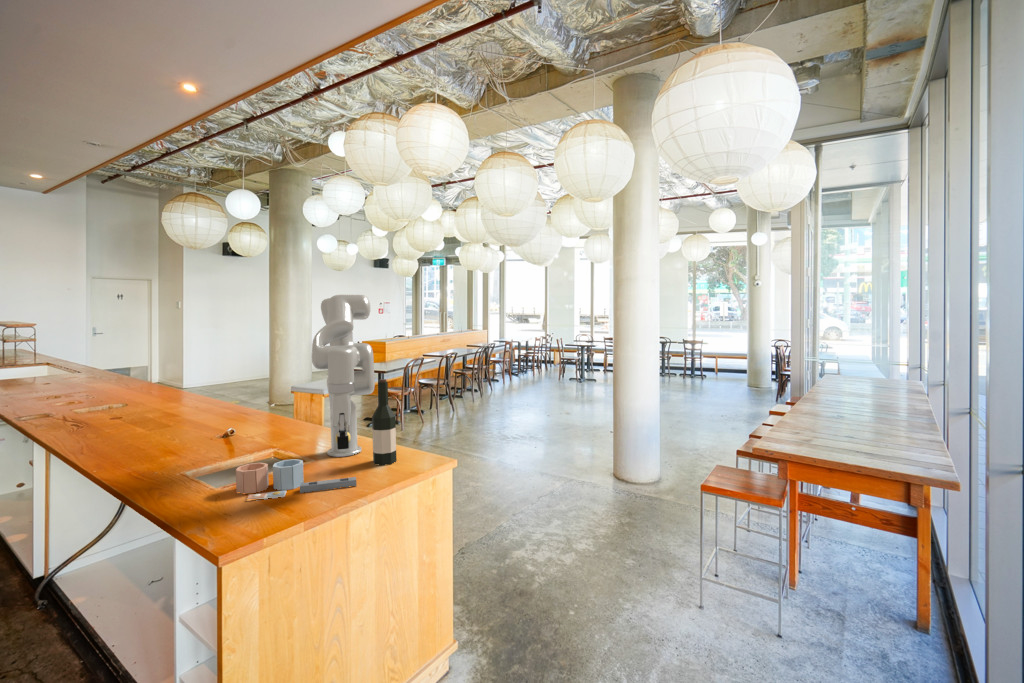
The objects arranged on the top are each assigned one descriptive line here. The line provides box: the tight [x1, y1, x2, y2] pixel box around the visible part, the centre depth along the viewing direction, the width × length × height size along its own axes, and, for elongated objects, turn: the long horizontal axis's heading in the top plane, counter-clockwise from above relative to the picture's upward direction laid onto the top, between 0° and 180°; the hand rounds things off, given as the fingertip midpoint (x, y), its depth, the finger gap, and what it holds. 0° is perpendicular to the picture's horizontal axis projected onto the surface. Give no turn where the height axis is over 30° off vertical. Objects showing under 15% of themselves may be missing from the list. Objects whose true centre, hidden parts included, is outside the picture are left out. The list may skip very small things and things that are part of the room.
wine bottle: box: [371, 378, 397, 466], centre depth 168 cm, size 8×8×30 cm
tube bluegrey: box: [272, 458, 305, 491], centre depth 146 cm, size 8×8×7 cm
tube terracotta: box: [235, 462, 270, 494], centre depth 142 cm, size 8×8×7 cm
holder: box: [299, 476, 357, 494], centre depth 143 cm, size 3×16×2 cm, turn 109°
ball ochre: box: [335, 432, 351, 442], centre depth 144 cm, size 4×4×4 cm
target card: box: [246, 490, 287, 500], centre depth 137 cm, size 4×10×1 cm, turn 109°
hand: (343, 445), depth 145 cm, fingers closed on ball ochre, 4 cm apart
